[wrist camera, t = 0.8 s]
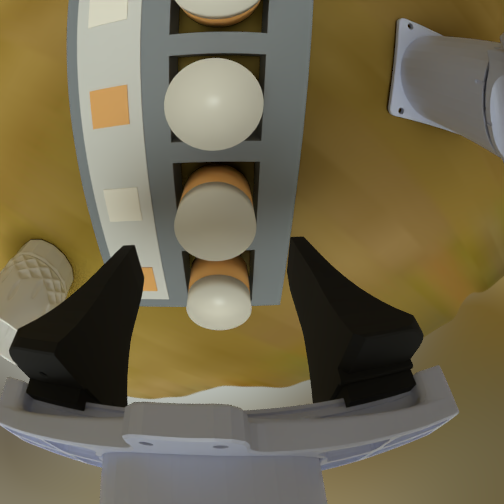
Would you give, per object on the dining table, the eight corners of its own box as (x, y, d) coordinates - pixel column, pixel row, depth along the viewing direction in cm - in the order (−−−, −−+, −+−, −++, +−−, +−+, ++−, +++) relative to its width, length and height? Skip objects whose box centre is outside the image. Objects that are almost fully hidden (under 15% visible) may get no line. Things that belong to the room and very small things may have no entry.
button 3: (252, 163, 17) (258, 191, 14) (249, 224, 20) (254, 260, 17) (181, 165, 17) (169, 192, 14) (186, 225, 19) (178, 261, 16)
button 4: (248, 248, 21) (252, 286, 18) (246, 291, 24) (250, 329, 21) (188, 249, 21) (182, 287, 18) (193, 292, 23) (190, 330, 20)
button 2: (257, 60, 13) (266, 59, 10) (253, 131, 16) (261, 150, 13) (178, 62, 13) (163, 61, 10) (179, 132, 15) (166, 152, 12)
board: (302, -31, 11) (315, -45, 8) (274, 280, 26) (280, 306, 24) (91, -16, 9) (70, -24, 7) (126, 282, 25) (118, 307, 23)
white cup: (9, 259, 22) (-33, 328, 14) (34, 218, 20) (-23, 296, 12) (59, 302, 26) (30, 376, 19) (92, 272, 24) (57, 359, 16)
